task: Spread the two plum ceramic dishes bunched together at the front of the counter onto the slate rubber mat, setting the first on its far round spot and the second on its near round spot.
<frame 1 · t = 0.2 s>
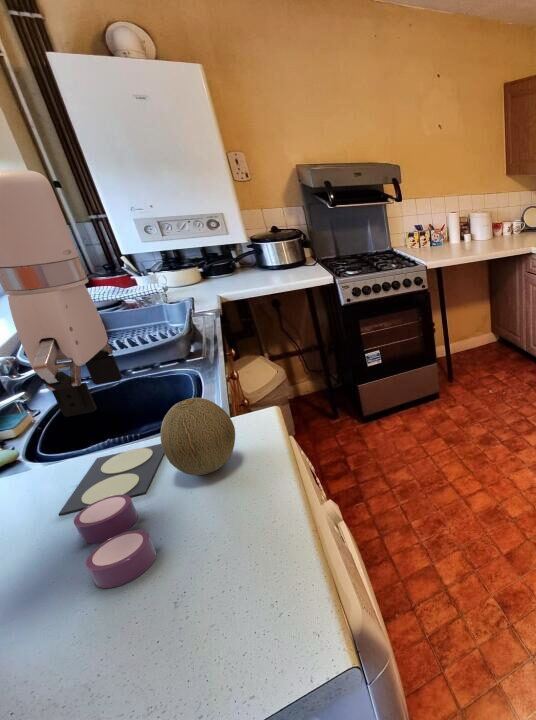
hand: (95, 396, 60), 25 cm above the countertop, tool pointing down, fingers open, 9 cm apart
dish b: (111, 526, 71), on the countertop
mat: (120, 475, 83), on the countertop
fruit: (210, 469, 85), on the countertop
dish a: (126, 566, 64), on the countertop
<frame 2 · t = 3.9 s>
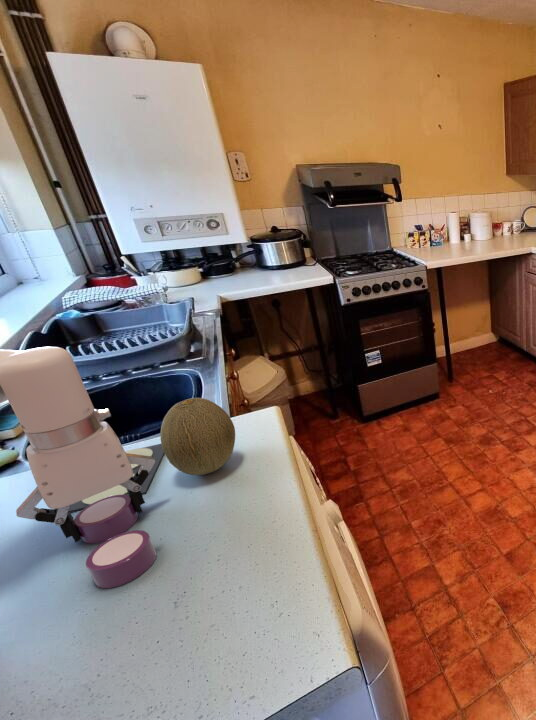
hand: (108, 521, 71), 1 cm above the countertop, tool pointing down, fingers closed on dish b, 7 cm apart
dish b: (111, 526, 71), on the countertop, touching gripper
everything else where it was.
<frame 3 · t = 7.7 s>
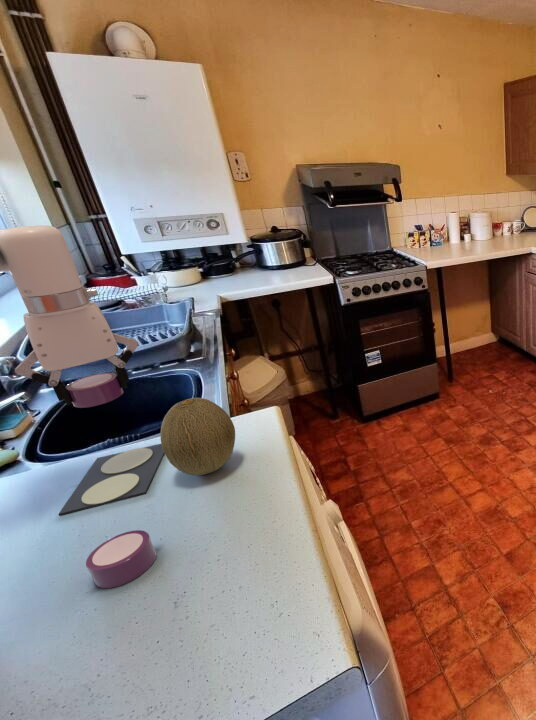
hand: (97, 393, 80), 16 cm above the countertop, tool pointing down, fingers closed on dish b, 7 cm apart
dish b: (99, 398, 80), point 15 cm above the countertop, touching gripper
everything else where it was.
when the fingers open (2 cm above the countertop, at t = 11.6 s): dish b stays where it is, resting on mat.
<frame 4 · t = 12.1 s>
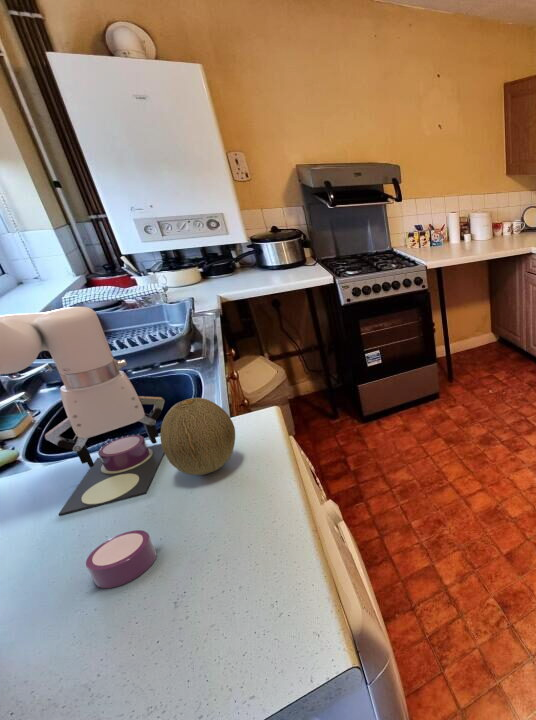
hand: (123, 452, 86), 2 cm above the countertop, tool pointing down, fingers open, 9 cm apart
dish b: (127, 460, 87), resting on mat
everything else where it was.
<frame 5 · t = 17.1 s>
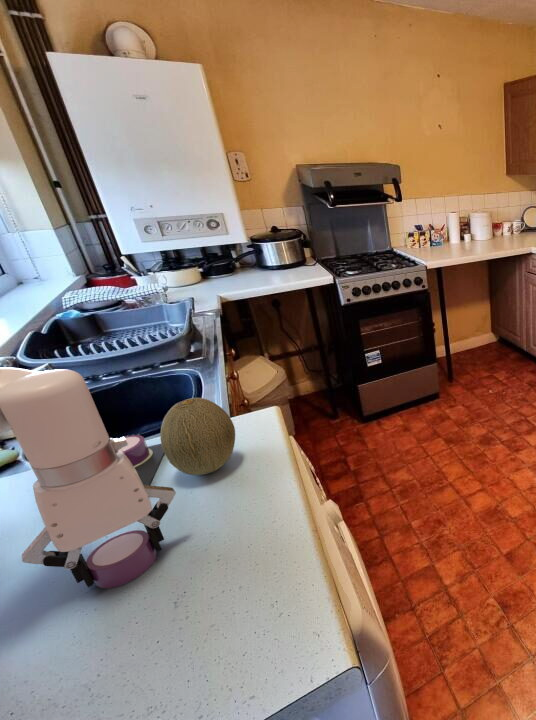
hand: (124, 561, 63), 1 cm above the countertop, tool pointing down, fingers closed on dish a, 7 cm apart
dish a: (126, 566, 64), on the countertop, touching gripper
everything else where it was.
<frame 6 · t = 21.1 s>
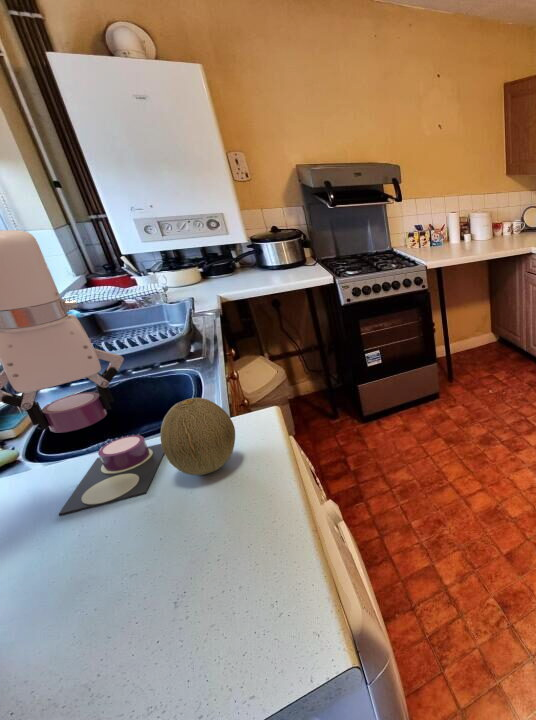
hand: (77, 415, 72), 17 cm above the countertop, tool pointing down, fingers closed on dish a, 7 cm apart
dish a: (79, 420, 73), point 16 cm above the countertop, touching gripper
everything else where it was.
when the fingers open (1 cm above the countertop, at t = 25.1 s): dish a stays where it is, resting on mat.
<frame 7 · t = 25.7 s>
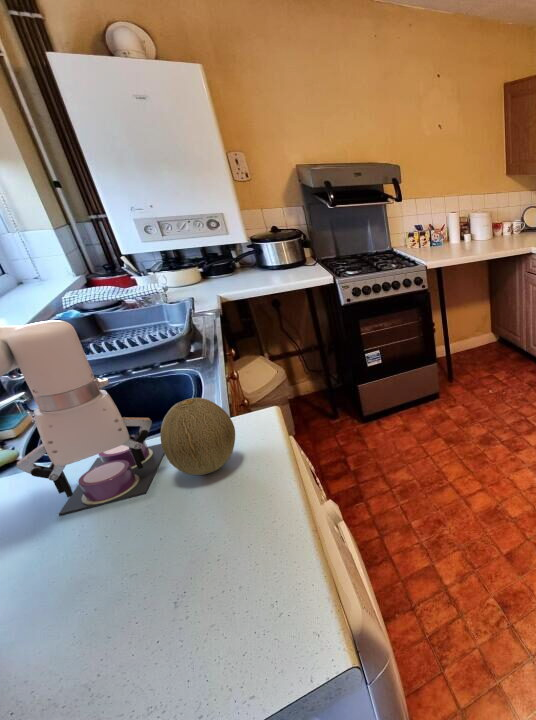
hand: (106, 478, 78), 3 cm above the countertop, tool pointing down, fingers open, 9 cm apart
dish a: (111, 487, 79), resting on mat
everything else where it was.
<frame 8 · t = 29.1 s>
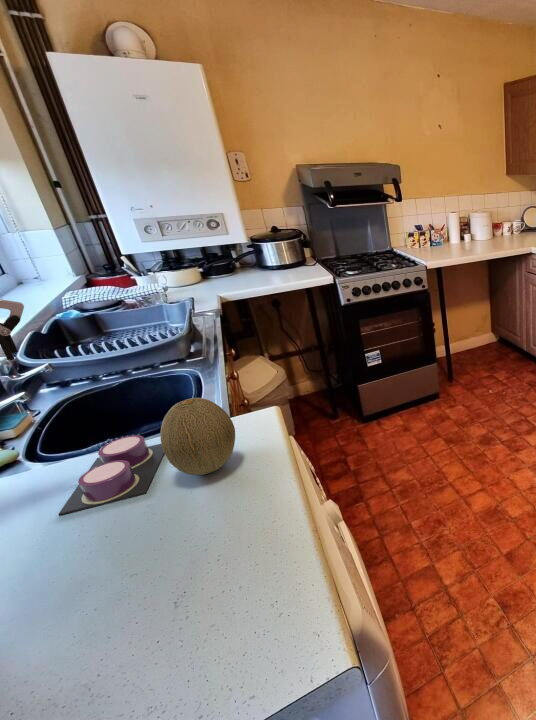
nothing on the countertop moved.
at the end: dish b 0.1 cm from the target spot on the mat, point 0.5 cm above the mat's base; dish a 0.1 cm from the target spot on the mat, point 0.5 cm above the mat's base; dish a tilted 0° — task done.
